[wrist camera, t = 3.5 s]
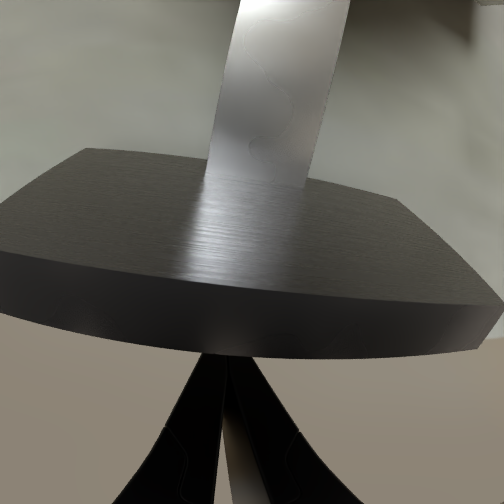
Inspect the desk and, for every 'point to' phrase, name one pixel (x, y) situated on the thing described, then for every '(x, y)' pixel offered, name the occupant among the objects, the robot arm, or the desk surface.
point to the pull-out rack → (241, 229)
